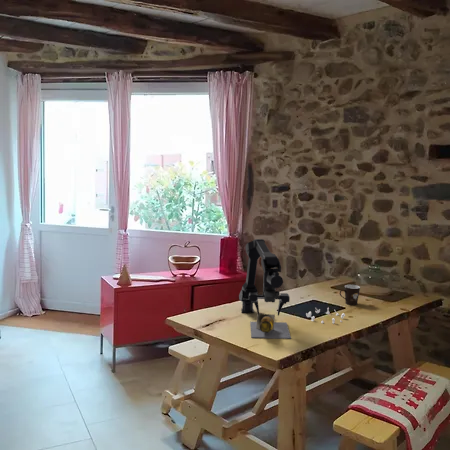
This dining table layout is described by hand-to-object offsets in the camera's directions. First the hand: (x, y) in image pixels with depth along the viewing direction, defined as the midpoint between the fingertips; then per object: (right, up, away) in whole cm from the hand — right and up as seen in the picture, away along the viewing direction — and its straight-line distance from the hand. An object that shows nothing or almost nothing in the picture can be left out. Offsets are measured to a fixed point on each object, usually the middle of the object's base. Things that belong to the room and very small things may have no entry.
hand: (268, 315), depth 244 cm
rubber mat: (+1, -8, +4) cm, 9 cm away
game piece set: (+31, -7, +25) cm, 41 cm away
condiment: (-1, -4, +4) cm, 6 cm away
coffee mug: (+50, -3, +53) cm, 73 cm away
